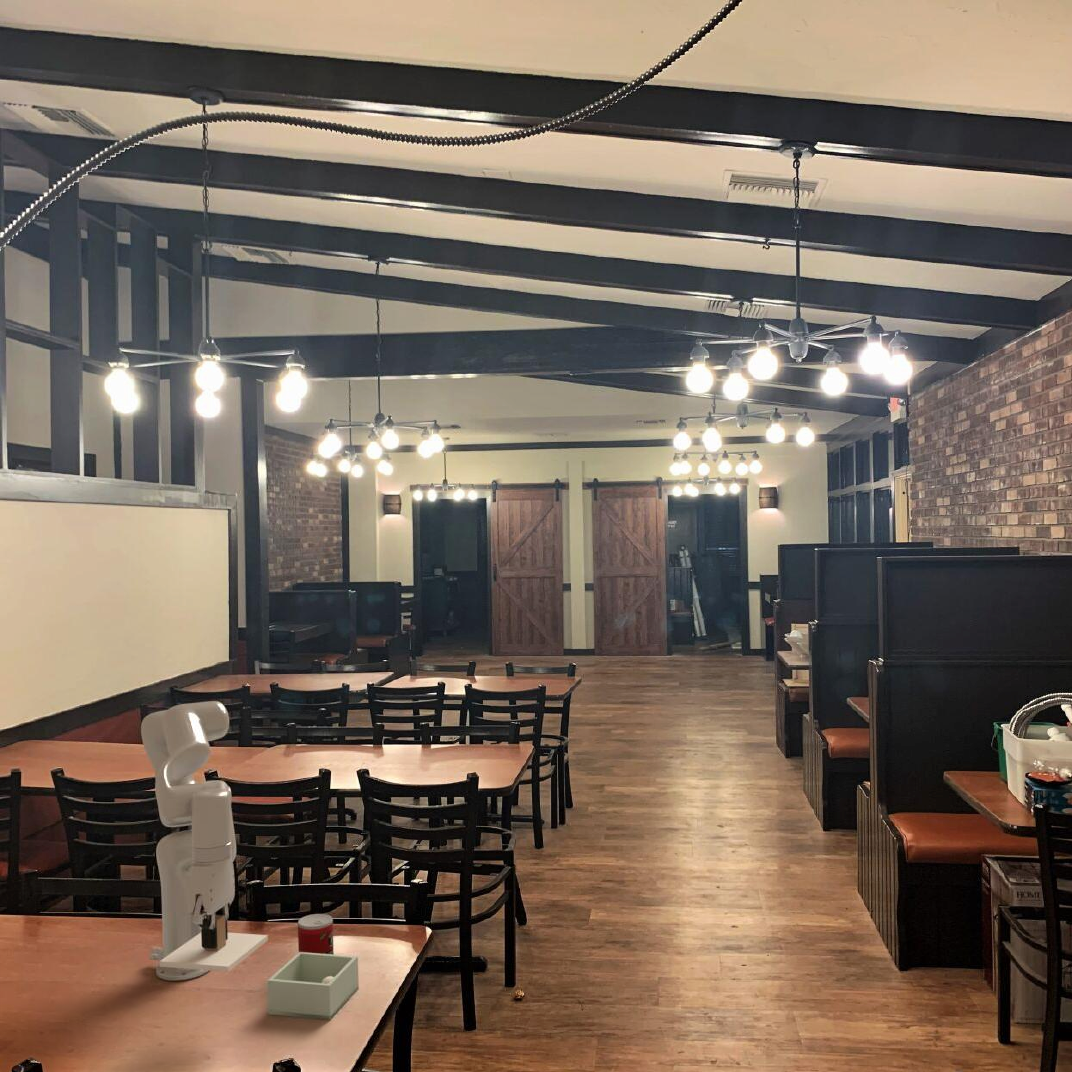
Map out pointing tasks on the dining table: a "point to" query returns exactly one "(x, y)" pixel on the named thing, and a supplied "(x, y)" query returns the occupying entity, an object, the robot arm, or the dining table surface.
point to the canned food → (316, 934)
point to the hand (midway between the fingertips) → (214, 942)
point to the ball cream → (327, 979)
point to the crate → (313, 985)
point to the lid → (215, 950)
